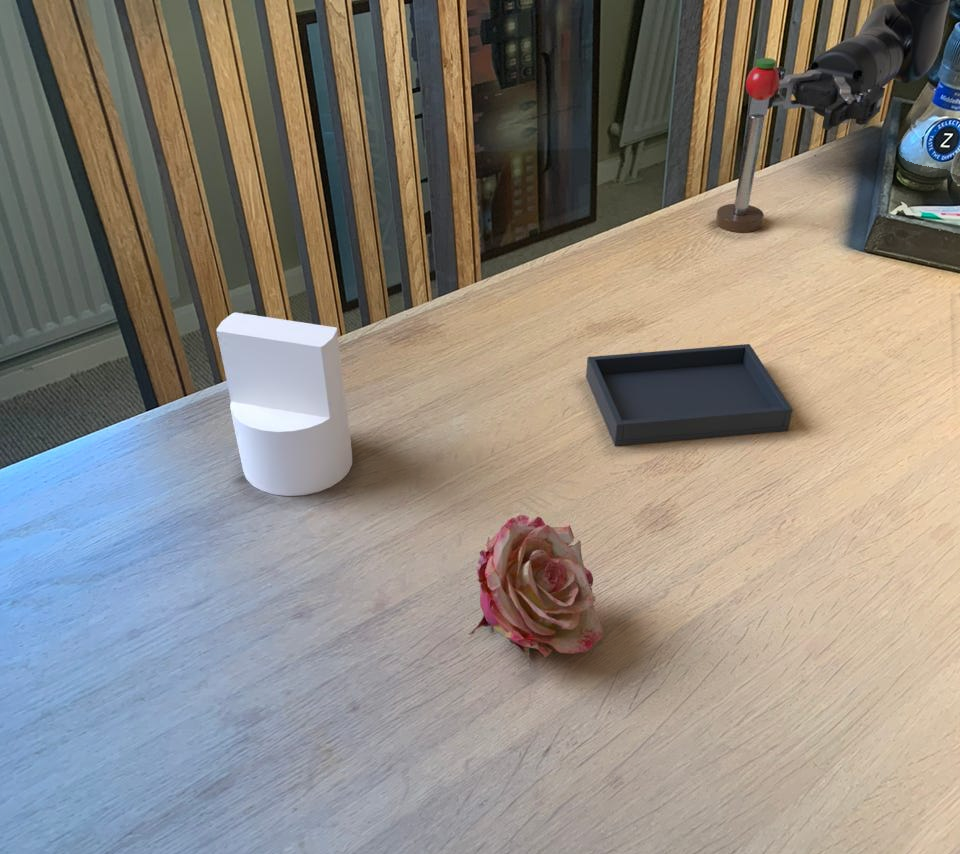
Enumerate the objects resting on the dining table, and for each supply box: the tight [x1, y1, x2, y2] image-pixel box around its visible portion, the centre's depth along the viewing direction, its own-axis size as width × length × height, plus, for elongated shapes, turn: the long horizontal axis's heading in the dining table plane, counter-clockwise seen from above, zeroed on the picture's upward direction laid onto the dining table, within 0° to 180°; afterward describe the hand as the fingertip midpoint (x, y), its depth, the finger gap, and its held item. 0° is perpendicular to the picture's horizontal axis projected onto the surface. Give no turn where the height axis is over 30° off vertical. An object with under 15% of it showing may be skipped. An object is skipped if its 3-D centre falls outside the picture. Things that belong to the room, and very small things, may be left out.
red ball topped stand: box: [715, 57, 780, 233], centre depth 112 cm, size 5×5×17 cm
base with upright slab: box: [215, 311, 353, 497], centre depth 81 cm, size 9×9×12 cm
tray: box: [585, 343, 794, 447], centre depth 90 cm, size 15×11×2 cm
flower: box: [468, 514, 604, 668], centre depth 68 cm, size 10×9×8 cm
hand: (791, 112), depth 117 cm, fingers open, 8 cm apart
